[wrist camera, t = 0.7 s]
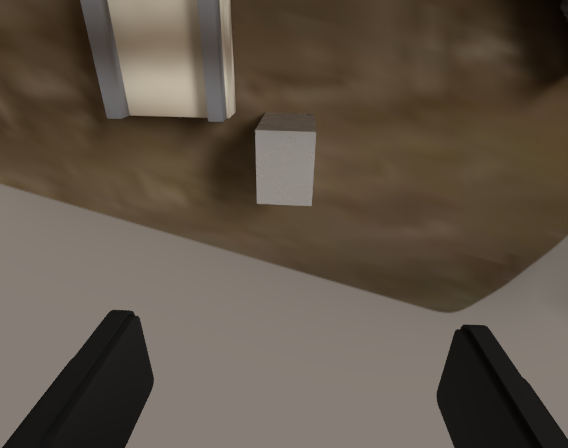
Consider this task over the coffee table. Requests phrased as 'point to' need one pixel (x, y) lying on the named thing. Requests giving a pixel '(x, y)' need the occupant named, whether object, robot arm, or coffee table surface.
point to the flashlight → (565, 8)
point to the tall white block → (285, 158)
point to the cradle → (163, 57)
